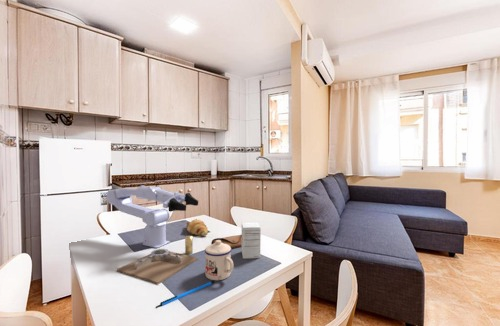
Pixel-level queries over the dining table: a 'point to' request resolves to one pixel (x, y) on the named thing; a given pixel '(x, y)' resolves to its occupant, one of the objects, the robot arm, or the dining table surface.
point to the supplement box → (251, 240)
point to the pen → (184, 294)
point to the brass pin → (188, 245)
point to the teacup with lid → (218, 261)
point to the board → (157, 268)
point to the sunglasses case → (230, 241)
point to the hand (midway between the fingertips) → (191, 205)
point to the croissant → (197, 227)
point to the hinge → (158, 257)
